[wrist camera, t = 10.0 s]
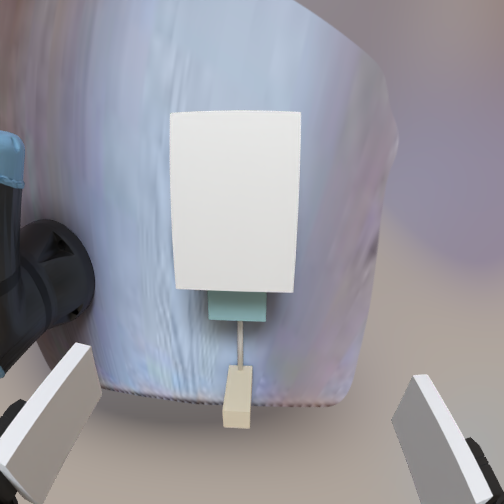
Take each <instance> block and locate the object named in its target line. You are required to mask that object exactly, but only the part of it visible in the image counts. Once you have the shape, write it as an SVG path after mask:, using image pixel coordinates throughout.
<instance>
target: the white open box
mask: <svg viewBox="0 0 504 504" xmlns="http://www.w3.org/2000/svg"><path fill="white" fill-rule="evenodd" d="M300 142H301V112H287V111H249V110H234V111H197V112H179V113H170V192H171V219H172V239H173V255H174V269H175V282H176V289H191V290H215V291H244V292H287V293H293V287H294V272H295V257H296V240H297V222H298V200H299V175H300Z"/></svg>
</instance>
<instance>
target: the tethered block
mask: <svg viewBox="0 0 504 504" xmlns="http://www.w3.org/2000/svg"><path fill="white" fill-rule="evenodd" d="M207 294H208V314H209V320H230V321H237V334H238V365H229V370H228V377H227V384H226V391H225V397H224V404H223V425H224V427H228V428H250V412H251V394H252V366H243V321H261V322H266V301H267V292H244V291H215V290H207Z"/></svg>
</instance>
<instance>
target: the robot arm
mask: <svg viewBox="0 0 504 504" xmlns="http://www.w3.org/2000/svg"><path fill="white" fill-rule="evenodd" d="M24 159H25V147H24V144H23V142H22V140H21V139H20V138H19V137H18V136H17V135H15V134H13V133H9V132H6V131H2V130H0V378H3V377H4V376H5V374H6V372H7V371H8V370H9V369H10V368H11V367H12V365H14V364H15V362H16V361H17V360H18V359H19V358H20V357H21V356H22V355H23V354H24V353H25V352H26V351H27V350H28V348H29V347H30V346H31V345H32V344H33V343H34V342H35V341H36V340H37V339H38V338H39V337H40V336H41V335H42V334H43V333H44V332H45V331H46V330H47V329H50V328H53V327H56V326H59V325H62V324H65V323H67V322H70V321H72V320H74V319H76V318H77V317H78V316H79V315H80V314H81V313H82V312H83V311H84V310H85V309H86V308H87V307H88V306H89V304H90V302H91V300H92V297H93V293H94V272H93V268H92V264H91V261H90V258H89V256H88V254H87V252H86V250H85V248H84V246H83V245H82V243H81V242H80V240H79V239H78V238H77V236H76V235H75V234H74V233H73V232H72V231H71V230H69V229H68V228H67V227H66V226H64V225H62V224H61V223H59V222H56V221H53V220H46V219H44V220H38V221H35V222H33V223H31V224H28V225H26V226H25V227H23V228H22V229H21V230H20V218H21V199H22V189H23V188H24V185H25V183H24V181H23V172H24ZM101 396H102V390H101V387H100V383H99V379H98V375H97V371H96V367H95V362H94V358H93V353H92V349H91V346H88V345H84V344H80V343H75V344H74V345H73V346H72V347H71V349H70V350H69V351H68V352H67V353H66V355H65V356H64V357H63V358H62V359H61V360H60V362H59V363H58V364H57V365H56V366H55V368H54V369H53V370H52V371H51V373H50V374H49V375H48V376H47V378H46V379H45V380H44V381H43V382H42V384H41V385H40V386H39V387H38V389H37V390H36V391H35V393H34V394H33V395H32V397H31V398H30V399H29V400H28V401H27V402H26V401H24V400H21V399H20V400H18V401H17V402H15V403H13V404H12V405H10V406H9V408H8V409H7V410H6V411H5V412H4V414H3V416H1V418H0V504H18V501H17V499H16V497H15V494H16V492H17V491H18V492H19V494H20V495H22V497H23V498H24V499H26V500H28V501H29V502H31V503H33V504H43V503H44V500H45V499H46V497H47V494H48V493H49V490H50V489H51V487H52V485H53V483H54V481H55V479H56V477H57V475H58V473H59V471H60V469H61V467H62V466H63V463H64V462H65V460H66V458H67V456H68V454H69V453H70V451H71V449H72V447H73V445H74V443H75V442H76V440H77V438H78V436H79V434H80V433H81V431H82V429H83V427H84V425H85V424H86V422H87V420H88V419H89V417H90V415H91V413H92V411H93V410H94V408H95V406H96V404H97V403H98V401H99V399H100V398H101ZM391 421H392V424H393V426H394V429H395V432H396V434H397V437H398V439H399V442H400V445H401V448H402V450H403V453H404V456H405V458H406V461H407V464H408V467H409V470H410V473H411V475H412V478H413V481H414V484H415V487H416V490H417V493H418V496H419V499H420V502H421V504H504V492H503V490H502V488H501V486H500V484H499V482H498V480H497V478H496V476H495V474H494V472H493V470H492V468H491V466H490V465H488V461H487V459H486V457H484V453H483V451H482V450H481V448H480V446H479V445H478V444H477V443H476V442H475V441H474V440H473V439H472V438H471V437H470V438H467V439H464V437H463V435H462V433H461V431H460V429H459V428H458V426H457V424H456V422H455V421H454V419H453V417H452V415H451V413H450V412H449V410H448V408H447V407H446V405H445V403H444V401H443V400H442V398H441V396H440V394H439V393H438V391H437V389H436V388H435V386H434V384H433V383H432V381H431V379H430V378H429V376H428V375H427V374H426V375H413V376H412V378H411V380H410V383H409V385H408V387H407V389H406V391H405V394H404V395H403V398H402V400H401V402H400V404H399V406H398V408H397V410H396V411H395V413H394V415H393V417H392V419H391Z"/></svg>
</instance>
